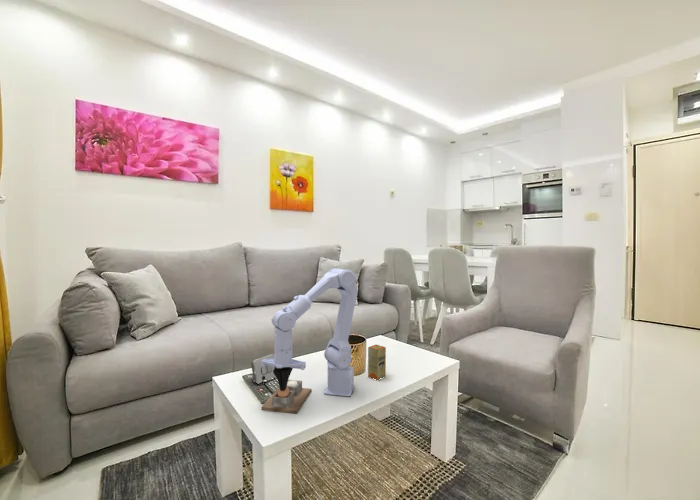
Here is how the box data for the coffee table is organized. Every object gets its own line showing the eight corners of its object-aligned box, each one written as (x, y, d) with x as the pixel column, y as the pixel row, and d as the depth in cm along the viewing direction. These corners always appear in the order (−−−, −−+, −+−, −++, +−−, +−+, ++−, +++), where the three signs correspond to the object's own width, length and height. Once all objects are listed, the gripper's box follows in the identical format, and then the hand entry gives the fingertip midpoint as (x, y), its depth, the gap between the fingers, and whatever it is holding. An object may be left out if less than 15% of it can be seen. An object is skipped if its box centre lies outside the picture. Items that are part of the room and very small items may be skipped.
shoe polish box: (368, 377, 124) (368, 347, 124) (375, 373, 128) (376, 344, 127) (377, 380, 121) (377, 350, 120) (385, 377, 124) (385, 347, 124)
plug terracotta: (290, 396, 103) (290, 387, 103) (286, 401, 99) (286, 392, 99) (280, 395, 103) (280, 386, 103) (275, 400, 100) (275, 391, 100)
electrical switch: (258, 386, 116) (256, 361, 116) (250, 383, 119) (248, 359, 119) (278, 378, 123) (276, 354, 123) (270, 376, 126) (268, 352, 127)
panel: (311, 391, 112) (311, 380, 112) (297, 413, 97) (297, 401, 97) (280, 388, 114) (280, 377, 114) (261, 410, 99) (261, 397, 99)
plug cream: (298, 389, 111) (298, 380, 111) (295, 393, 107) (295, 385, 107) (289, 388, 111) (289, 379, 111) (285, 392, 108) (285, 384, 108)
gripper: (256, 350, 98) (256, 393, 99) (300, 353, 96) (300, 397, 96) (266, 343, 105) (266, 383, 106) (307, 346, 103) (307, 387, 103)
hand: (283, 389), depth 101 cm, fingers closed, pressing on plug terracotta
